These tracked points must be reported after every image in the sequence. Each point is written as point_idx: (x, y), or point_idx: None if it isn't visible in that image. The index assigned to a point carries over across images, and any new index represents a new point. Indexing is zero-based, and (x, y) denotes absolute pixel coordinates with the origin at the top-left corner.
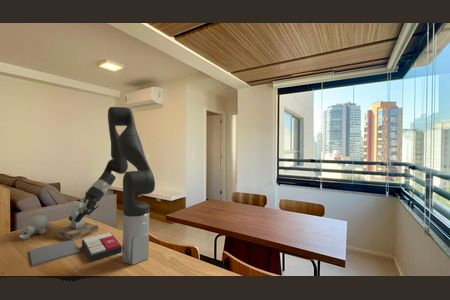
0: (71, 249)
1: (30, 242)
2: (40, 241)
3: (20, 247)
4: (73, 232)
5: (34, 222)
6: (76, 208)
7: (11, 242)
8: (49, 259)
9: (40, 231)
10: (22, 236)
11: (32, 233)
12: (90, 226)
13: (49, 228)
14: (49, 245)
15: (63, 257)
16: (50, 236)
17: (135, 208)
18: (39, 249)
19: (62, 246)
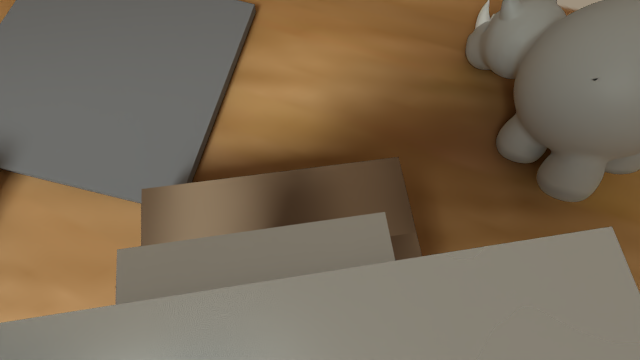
0: (8, 126)
1: (396, 57)
2: (364, 91)
3: (360, 9)
4: (186, 219)
5: (565, 20)
6: (124, 253)
7: (480, 10)
8: (15, 10)
9: (510, 120)
10: (479, 23)
11: (491, 69)
12: None
13: (537, 182)
14: (217, 80)
15: None
16: (408, 158)
17: None
18: (209, 31)
19: (118, 115)
